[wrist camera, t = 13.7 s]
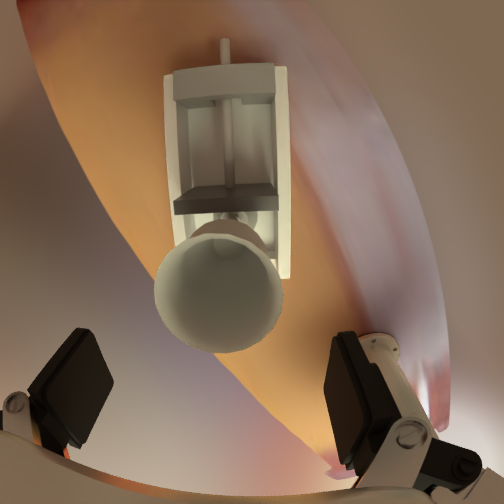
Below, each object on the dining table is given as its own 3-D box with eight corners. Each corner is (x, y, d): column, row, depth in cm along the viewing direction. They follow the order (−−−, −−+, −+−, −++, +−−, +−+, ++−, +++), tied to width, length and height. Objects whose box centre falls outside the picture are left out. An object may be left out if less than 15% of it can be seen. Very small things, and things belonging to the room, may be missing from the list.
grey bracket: (283, 256, 33) (291, 283, 27) (191, 259, 34) (178, 286, 27) (279, 81, 26) (288, 63, 19) (179, 88, 26) (160, 73, 20)
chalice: (257, 252, 32) (264, 361, 15) (200, 241, 32) (152, 339, 15) (272, 191, 30) (300, 248, 13) (211, 179, 29) (158, 220, 12)
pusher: (271, 193, 29) (278, 210, 21) (194, 197, 30) (174, 215, 21) (265, 47, 23) (270, 13, 15) (189, 52, 23) (168, 22, 15)
